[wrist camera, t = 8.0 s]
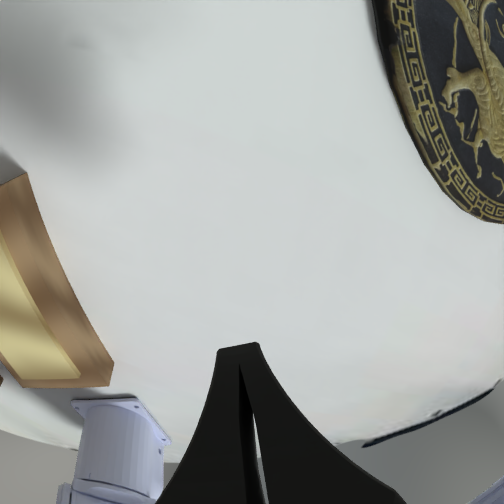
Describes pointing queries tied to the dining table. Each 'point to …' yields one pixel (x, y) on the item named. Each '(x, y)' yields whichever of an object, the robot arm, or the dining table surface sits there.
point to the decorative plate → (451, 92)
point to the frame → (41, 304)
